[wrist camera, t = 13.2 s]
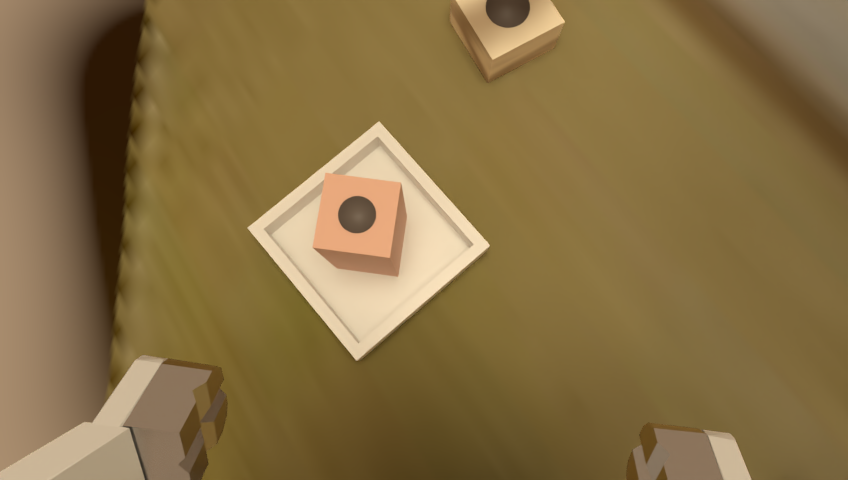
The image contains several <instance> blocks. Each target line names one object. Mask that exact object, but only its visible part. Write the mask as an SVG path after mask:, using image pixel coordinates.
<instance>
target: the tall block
mask: <svg viewBox="0 0 848 480" xmlns="http://www.w3.org/2000/svg"><path fill="white" fill-rule="evenodd" d="M406 220H407V213H406V207H405V202H404V196H403V190H402V185H401V183H400V182H393V181H385V180H377V179H369V178H362V177H354V176H346V175H339V174H331V173H325V178H324V184H323V190H322V195H321V201H320V207H319V213H318V218H317V224H316V230H315V236H314V242H313V247H312V248H314V249H315V250H316V251H317V252H318V253H319V254H321V255H322V256H323V257H324V258H325V259H326V260H328V261H329V262H330V263H331V264H332V265H333V266H335V267H336V268H337V269H345V270H352V271H360V272H367V273H374V274H382V275H389V276H396V277H398V275H399V268H400V262H401V255H402V248H403V241H404V234H405V227H406Z"/></svg>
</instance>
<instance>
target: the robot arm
mask: <svg viewBox="0 0 848 480" xmlns="http://www.w3.org/2000/svg"><path fill="white" fill-rule="evenodd" d="M223 380H224V378H223V373H222V368H221V367H218V366H212V365H206V364H199V363H193V362H187V361H180V360H174V359H167V358H160V357H153V356H146V355H142V356H141V357H139V358H138V359H136V360H135V361H134V362H133V364H132V365H131V367H130V368H129V370H128V371H127V373H126V374H125V376H124V377H123V379H122V380H121V381H120V383H119V384H118V386H117V387H116V389H115V390H114V392H113V393H112V395H111V396H110V397H109V399H108V400H107V402H106V403H105V405H104V406H103V408H102V409H101V411H100V412H99V414H98V415H97V417H96V418H95V419H94V421H93V422H92V423H90V422H83V423H82V424H80V425H78V426H77V427H75V428H73V429H72V430H70V431H68V432H67V433H65V434H63V435H61V436H60V437H58V438H56V439H55V440H53V441H51V442H50V443H48V444H46V445H45V446H43V447H41V448H39V449H38V450H36V451H34V452H33V453H31V454H29V455H28V456H26V457H24V458H23V459H21V460H19V461H18V462H16V463H14V464H12V465H11V466H9V467H7V468H6V469H4V470H2V471H1V472H0V480H201V479H202V476H203V474H204V472H205V470H206V468H207V465H208V459H207V454H206V451H207V450H209V449H210V448H212V447H213V446H214V445H216V444H217V443H218V441H219V439H220V436H221V434H222V432H223V429H224V425H225V421H226V417H227V405H228V403H227V396H226V394H225V393H224V392H223V391H222V390H221V389H220V386H221V384H222V382H223ZM639 436H640V440H641V444H642V445H640V446H638V447H636V448H635V449H633V450H632V452H631V455H630V457H629V460H628V465H627V473H626V479H627V480H751V477H750V475H749V472H748V470H747V467H746V465H745V462H744V460H743V457H742V455H741V453H740V450H739V448H738V445H737V443H736V440H735V438H734V437H733V436H732V435H731V434H730V433H724V432H716V431H709V430H700V429H697V428H688V427H680V426H672V425H663V424H655V423H647V424H646V425H644V426H643V428H642V430H641V432H640V434H639Z"/></svg>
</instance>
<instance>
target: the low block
mask: <svg viewBox="0 0 848 480" xmlns="http://www.w3.org/2000/svg"><path fill="white" fill-rule="evenodd" d="M450 23H451V24H452V26H453V27H454V29H455V31H456V32H457V34H458V36H459V37H460V39H461V41H462V42H463V44H464V45H465V47H466V49H467V50H468V52H469V54H470V55H471V57H472V59H473V60H474V62H475V63H476V65H477V67H478V68H479V70H480V72H481V73H482V75H483V77H484V78H485V80H486V81H487V83H489V82H491V81H493V80H495V79H497V78H499V77H500V76H502V75H504V74H506V73H508V72H510V71H512V70H514V69H516V68H518V67H519V66H521V65H523V64H525V63H527V62H529V61H531V60H533V59H535V58H537V57H538V56H540V55H542V54H544V53H546V52H548V51H550V50H552V49H554V47H555V45H556V42H557V40H558V37H559V35H560V33H561V30H562V28H563V25H564V23H565V22H564V20H563V19H562V17H561V16H560V14H559V12H558V11H557V9H556V8H555V6H554V5H553V3H552V2H551V0H451V8H450Z"/></svg>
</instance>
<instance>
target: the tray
mask: <svg viewBox="0 0 848 480" xmlns="http://www.w3.org/2000/svg"><path fill="white" fill-rule="evenodd" d="M325 173H331V174H339V175H346V176H354V177H362V178H369V179H377V180H385V181H393V182H400V183H401V185H402V190H403V196H404V202H405V207H406V213H407V220H406V227H405V234H404V241H403V248H402V255H401V262H400V268H399V275H398V277H396V276H389V275H382V274H374V273H367V272H360V271H352V270H345V269H337V268H336V267H335V266H333V265H332V264H331V263H330V262H329V261H328V260H326V259H325V258H324V257H323V256H322V255H321V254H319V253H318V252H317V251H316V250H315V249H314V248H312V247H313V242H314V236H315V230H316V224H317V218H318V213H319V207H320V201H321V195H322V190H323V184H324V178H325ZM248 229H249V230H250V232H251V233H252V234H253V235H254V236H255V238H256V239H257V240H258V241H259V243H260V244H261V245H262V246H263V247H264V249H265V250H266V251H267V252H268V253H269V255H270V256H271V257H272V258H273V260H274V261H275V262H276V263H277V264H278V266H279V267H280V268H281V269H282V271H283V272H284V273H285V274H286V275H287V277H288V278H289V279H290V280H291V282H292V283H293V284H294V285H295V286H296V288H297V289H298V290H299V291H300V292H301V294H302V295H303V296H304V297H305V299H306V300H307V301H308V302H309V303H310V305H311V306H312V307H313V308H314V310H315V311H316V312H317V313H318V314H319V316H320V317H321V318H322V319H323V320H324V322H325V323H326V324H327V325H328V327H329V328H330V329H331V330H332V331H333V333H334V334H335V335H336V336H337V338H338V339H339V340H340V341H341V342H342V344H343V345H344V346H345V347H346V349H347V350H348V351H349V352H350V353H351V355H352V356H353V357H354V358H355V359H356V361H358V360H362V359H363V358H364V357H365V356H366V355H367V354H369V353H370V352H371V351H372V350H373V349H374V348H376V347H377V346H378V345H379V344H380V343H381V342H383V341H384V340H385V339H386V338H387V337H388V336H390V335H391V334H392V333H393V332H394V331H395V330H396V329H398V328H399V327H400V326H401V325H402V324H403V323H405V322H406V321H407V320H408V319H409V318H410V317H412V316H413V315H414V314H415V313H416V312H417V311H418V310H420V309H421V308H422V307H423V306H424V305H425V304H427V303H428V302H429V301H430V300H431V299H432V298H434V297H435V296H436V295H437V294H438V293H439V292H440V291H442V290H443V289H444V288H445V287H446V286H447V285H449V284H450V283H451V282H452V281H453V280H454V279H456V278H457V277H458V276H459V275H460V274H461V273H463V272H464V271H465V270H466V269H467V268H468V267H469V266H471V265H472V264H473V263H474V262H475V261H476V260H478V259H479V258H480V257H481V256H482V255H483V254H485V253H486V252H487V250H488V249H489V247H490V245H489V244H488V243H487V241H486V240H485V239H484V238H483V237H482V236H481V235H480V234H479V232H478V231H477V230H476V229H475V228H474V227H473V226H472V225H471V224H470V222H469V221H468V220H467V219H466V218H465V217H464V216H463V215H462V213H461V212H460V211H459V210H458V209H457V208H456V207H455V206H454V205H453V203H452V202H451V201H450V200H449V199H448V198H447V197H446V196H445V194H444V193H443V192H442V191H441V190H440V189H439V188H438V187H437V186H436V184H435V183H434V182H433V181H432V180H431V179H430V178H429V177H428V175H427V174H426V173H425V172H424V171H423V170H422V169H421V168H420V167H419V165H418V164H417V163H416V162H415V161H414V160H413V159H412V158H411V156H410V155H409V154H408V153H407V152H406V151H405V150H404V149H403V148H402V146H401V145H400V144H399V143H398V142H397V141H396V140H395V139H394V137H393V136H392V135H391V134H390V133H389V132H388V131H387V130H386V129H385V127H384V126H383V125H382V124H381V123H380V122H378V123H376V124H375V125H374V126H373V127H372V128H370V129H369V130H368V131H367V132H365V133H364V134H363V135H362V136H360V137H359V138H358V139H357V140H355V141H354V142H353V143H352V144H351V145H349V146H348V147H347V148H346V149H344V150H343V151H342V152H341V153H339V154H338V155H337V156H336V157H334V158H333V159H332V160H331V161H330V162H328V163H327V164H326V165H325V166H323V167H322V168H321V169H320V170H318V171H317V172H316V173H315V174H314V175H312V176H311V177H310V178H309V179H307V180H306V181H305V182H304V183H302V184H301V185H300V186H299V187H297V188H296V189H295V190H294V191H293V192H291V193H290V194H289V195H288V196H286V197H285V198H284V199H283V200H281V201H280V202H279V203H278V204H276V205H275V206H274V207H273V208H272V209H270V210H269V211H268V212H267V213H265V214H264V215H263V216H262V217H260V218H259V219H258V220H257V221H255V222H254V223H253V224H252V225H251V226H249V227H248Z"/></svg>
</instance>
